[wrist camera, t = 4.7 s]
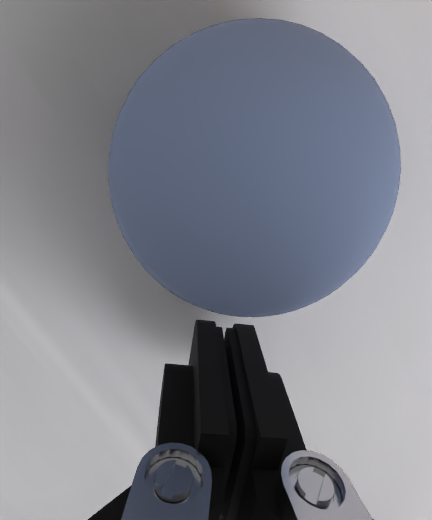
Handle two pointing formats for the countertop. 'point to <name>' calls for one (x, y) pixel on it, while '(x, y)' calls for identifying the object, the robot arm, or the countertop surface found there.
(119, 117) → the blue ball
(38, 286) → the countertop surface
